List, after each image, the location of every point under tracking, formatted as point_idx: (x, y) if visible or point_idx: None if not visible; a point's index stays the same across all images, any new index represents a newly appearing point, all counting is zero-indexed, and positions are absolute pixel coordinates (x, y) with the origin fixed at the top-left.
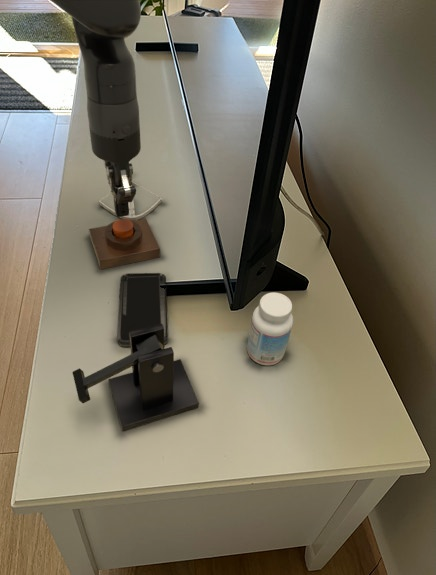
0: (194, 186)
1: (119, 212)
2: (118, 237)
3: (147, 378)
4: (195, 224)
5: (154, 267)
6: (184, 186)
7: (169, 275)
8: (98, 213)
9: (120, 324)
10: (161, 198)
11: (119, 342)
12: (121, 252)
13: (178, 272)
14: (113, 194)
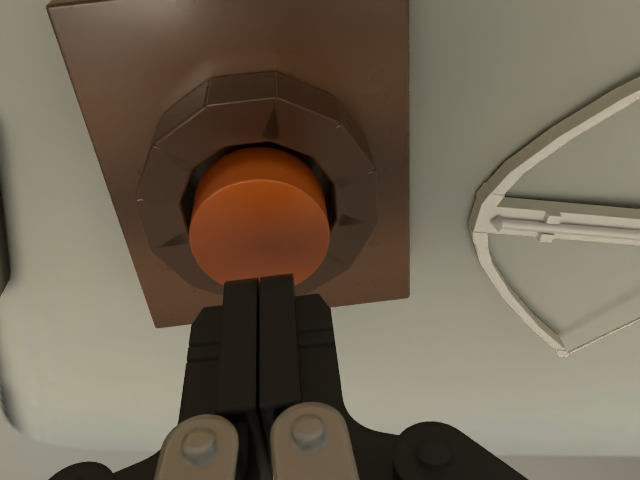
0: (600, 444)
1: (192, 338)
2: (202, 176)
3: None
4: (361, 422)
5: (90, 258)
6: (619, 417)
7: (34, 307)
8: (615, 30)
9: None
10: (561, 355)
11: None
12: (128, 152)
13: (57, 340)
14: (272, 430)
